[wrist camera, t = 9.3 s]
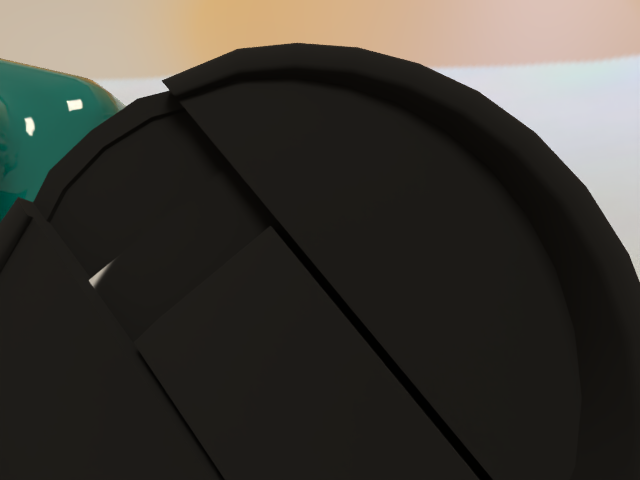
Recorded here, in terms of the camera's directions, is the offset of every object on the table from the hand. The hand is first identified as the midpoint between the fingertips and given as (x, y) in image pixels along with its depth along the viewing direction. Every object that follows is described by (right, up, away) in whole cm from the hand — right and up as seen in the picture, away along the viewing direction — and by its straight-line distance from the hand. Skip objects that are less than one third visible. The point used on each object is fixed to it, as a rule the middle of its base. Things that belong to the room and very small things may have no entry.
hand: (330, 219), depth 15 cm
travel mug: (+1, -5, +8) cm, 9 cm away
